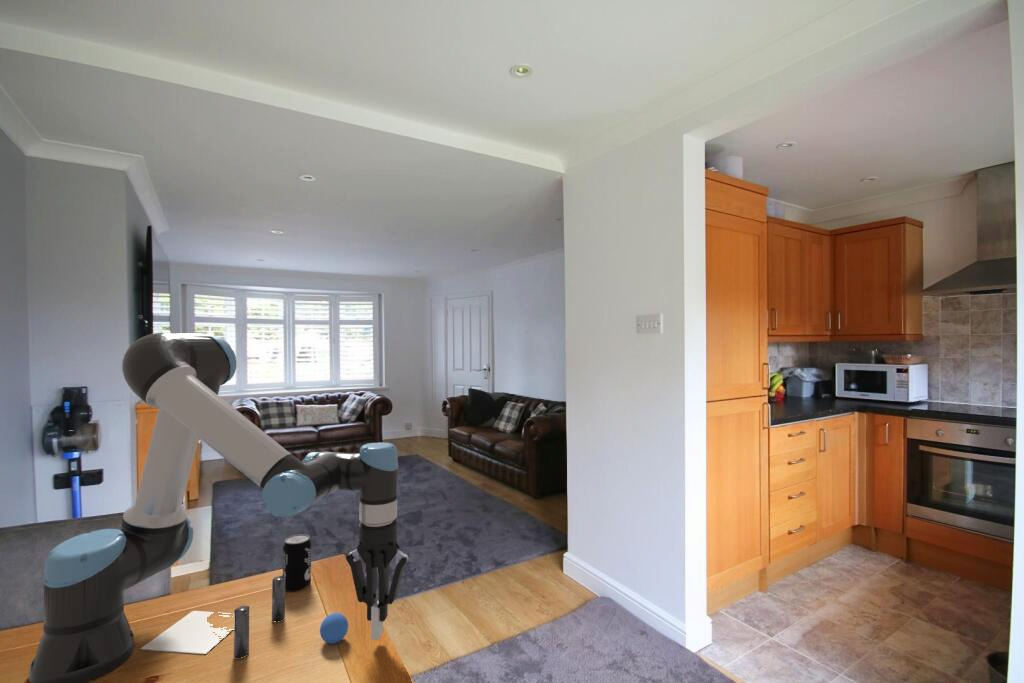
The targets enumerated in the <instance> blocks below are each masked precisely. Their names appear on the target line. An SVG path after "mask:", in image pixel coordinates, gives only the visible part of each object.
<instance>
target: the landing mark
mask: <svg viewBox="0 0 1024 683" xmlns="http://www.w3.org/2000/svg"><path fill="white" fill-rule="evenodd" d="M214 612H215V611H204V610H203V611H201V610H192V611H191V612H189V613H187V615H185V616H184V617H183V618H181V619H180V620H178V621H176V622H175V623H174V624H172V625H171V626H170V627H168V628H167V629H166V630H164V631H162V633H160V634H158V635H157V636H156V637H155V638H153V639H151V641H149V642H148V643H146V644H145V645H143V646H142V647H140V651H141V650H142V651H153V652H155V651H157V652H165V653H166V652H167V653H169V652H170V653H179V654H195V655H204V654H206V655H208V654H209V653H210V652H211V651H212V650H213V649H214V648H215V647H216V646H218V643H219V642H220V641H219V640H222V639H223V638H224V639H226V638H227V637H228V636H227V635H226V634H229V632H227V631H230V630H234V629H229V630H226V629H224V628H227V627H223V628H220V627H219V628H213V627H210V626H213V624H210V623H209V622H207V617H209V616H210V615H211V614H213V613H214ZM217 612H218V611H217ZM218 613H222V614H231V613H232V612H218ZM233 614H234V613H233ZM219 616H223V617H230V616H229V615H219ZM232 617H233V616H232ZM221 629H223V630H221ZM213 632H215V633H213ZM215 634H217V635H215ZM229 635H230V634H229ZM218 636H221V637H218ZM226 636H227V637H226ZM219 638H222V639H219ZM224 639H223V640H224ZM223 640H222V641H223ZM220 643H221V642H220ZM220 643H219V644H220ZM214 646H215V647H214ZM213 647H214V648H213ZM212 648H213V649H212ZM211 649H212V650H211ZM210 650H211V651H210Z"/></svg>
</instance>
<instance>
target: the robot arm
mask: <svg viewBox="0 0 1024 683" xmlns="http://www.w3.org/2000/svg"><path fill="white" fill-rule="evenodd" d="M237 363H238V362H237V356H236V353H235V351H234V350H233V348H232V346H231V344H230V343H228V342H227V341H226V339H224V338H222V337H220V336H218V335H213V334H207V333H203V332H200V333H199V332H198V333H197V332H196V333H177V332H175V333H173V332H172V333H170V332H155V333H150V334H147V335H144V336H142V337H140V338H138V339H137V340H135V341H134V342H133V343H132V344H131V345H130V346H129V347H128V348H127V350H126V352H125V353H124V355H123V359H122V364H121V367H122V368H121V369H122V375H123V377H124V380H125V383H126V384H127V385H128V387H129V388H130V390H131V391H132V392H133V393H134V394H135V395H136V396H137V397H138V398H139V399H140V400H142V402H144V403H145V404H147V405H148V406H150V407H151V408H154V409H155V408H156V409H158V410H157V414H156V418H155V423H154V427H153V430H152V434H151V438H150V443H149V446H148V450H147V453H146V457H145V458H146V459H145V463H144V466H143V470H142V474H141V478H140V482H139V486H138V490H137V493H136V499H135V502H134V505H132V506H130V507H128V508H127V509H126V510H125V511H124V512H123V515H122V518H121V523H120V526H119V529H118V528H117V529H116V528H103V529H96V530H92V531H90V532H87V533H85V532H84V533H81V534H78V535H76V536H73V537H71V538H69V539H66V540H65V541H63V542H61V543H59V544H58V545H56V546H55V547H54V548H53V549H52V550H50V552H49V553H48V554H47V556H46V557H45V561H44V570H43V573H42V583H43V613H42V614H43V623H42V624H43V625H42V627H43V628H42V635H41V638H40V641H39V643H38V646H37V650H36V652H35V653H36V654H35V657H34V658H33V659H32V661H31V662H30V664H29V665H30V666H29V669H28V670H29V671H28V682H30V683H88V682H91V681H94V680H96V679H98V678H100V677H103V676H105V675H107V674H109V673H110V672H112V671H114V670H115V669H117V668H119V667H120V666H121V665H123V664H124V663H125V662H126V661H127V660H129V658H130V657H131V656H132V655H133V653H134V651H135V643H136V642H135V641H136V640H135V634H134V632H133V630H132V629H131V625H130V623H129V620H128V618H127V616H126V613H125V591H127V590H128V589H130V588H132V587H133V586H135V585H137V584H139V583H141V582H143V581H145V580H147V579H149V578H151V577H153V576H154V575H156V574H157V573H158V574H159V573H160V572H162V571H165V570H166V569H168V568H170V567H172V566H173V565H174V564H175V563H176V562H178V561H180V560H181V559H182V558H183V557H184V556H185V555H186V553H188V551H189V549H190V548H191V546H192V543H193V540H194V527H193V526H191V523H192V522H191V520H190V518H189V517H188V511H187V510H186V509H185V508H184V507H183V502H184V497H185V494H186V489H187V486H188V482H189V479H190V475H191V471H192V466H193V462H194V459H195V456H196V450H197V446H198V443H199V440H202V441H203V443H204V444H206V445H208V447H210V448H211V449H212V450H214V451H215V453H218V454H219V455H220V456H221V457H222V458H223V459H225V460H226V461H227V462H228V463H230V464H231V465H232V466H234V468H236V470H238V471H240V473H242V474H243V475H244V476H246V477H247V478H248V479H249V480H251V481H252V482H253V483H254V484H256V485H257V486H258V487H259V488H260V489H262V502H263V503H264V506H265V508H266V509H267V511H268V512H269V513H270V514H272V515H274V516H276V517H278V518H279V517H280V518H288V517H291V516H293V515H296V514H299V513H302V512H303V511H305V510H308V509H309V507H311V506H312V505H313V504H315V503H316V502H319V500H322V499H324V498H325V497H327V496H329V495H330V494H332V493H333V492H335V491H347V492H348V491H350V492H351V491H352V492H356V491H358V493H359V506H358V507H359V510H358V511H359V512H358V520H359V521H360V522H359V524H358V541H359V542H358V545H357V546H356V549H353V550H351V551H350V552H349V553H348V554H347V555H346V556H345V561H346V562H347V563H348V565H349V566H350V570H351V575H352V579H353V584H354V588H355V589H354V590H355V593H356V597H357V598H356V599H357V601H358V603H364V604H366V619H367V621H369V622H370V623H371V624H370V639H371V640H373V641H376V640H377V641H378V640H379V639H380V638H381V636H382V634H383V633H384V622H385V621H386V620H387V617H388V611H389V610H388V607H389V606H388V605H392V604H393V603H394V601H395V600H396V598H397V597H398V593H399V589H400V585H401V581H402V577H403V574H404V568H405V565H406V563H407V561H408V560H409V558H410V556H411V555H410V553H408V552H406V553H404V552H403V551H401V550H400V545H399V543H398V540H397V539H398V520H397V519H396V518H397V517H398V478H399V477H398V476H399V472H398V471H399V461H398V448H397V447H396V445H395V444H393V443H389V442H371V443H370V442H369V443H366V444H363V445H362V446H361V447H360V448H359V452H357V453H355V452H337V451H336V452H332V451H326V450H325V451H324V450H323V451H312V452H309V453H307V455H305V457H304V459H302V461H301V460H300V459H299V458H297V457H296V456H295V455H294V454H292V453H291V452H289V451H288V450H286V449H285V447H283V446H282V445H281V444H279V442H277V441H276V440H274V439H273V438H272V437H270V436H269V435H268V434H267V433H266V432H265V431H264V430H262V429H261V428H259V427H258V426H257V425H256V424H255V423H253V422H252V421H251V420H249V419H248V418H247V417H246V416H244V414H242V413H241V412H239V411H238V410H237V409H236V408H235V407H234V406H232V405H231V404H230V403H228V402H227V401H226V400H224V399H223V398H222V397H221V396H220V395H219V392H220V388H221V386H224V385H225V384H226V383H228V382H229V381H230V380H232V379H233V377H234V375H235V373H236V370H237V366H238V365H237ZM394 558H395V564H396V566H395V568H394V572H393V577H392V580H391V583H390V584H389V580H390V579H389V575H390V564H391V562H392V561H393V559H394ZM361 560H363V562H364V564H365V573H366V576H365V573H364V568H363V564H362V561H361ZM377 573H378V574H377ZM377 575H378V577H377ZM365 577H366V578H365ZM377 578H378V579H377ZM377 580H378V583H377ZM377 584H378V594H377ZM389 586H390V588H389ZM376 599H377V600H376ZM382 626H383V627H382Z"/></svg>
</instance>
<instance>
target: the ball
mask: <svg viewBox="0 0 1024 683" xmlns="http://www.w3.org/2000/svg"><path fill="white" fill-rule="evenodd" d="M348 630H349V622H348V619H347V617H346V616H345V615H344V614H343V613H340V612H333V613H330V614H328V615H327V616H325V618H324V619H323V620H322V622H321V623H320V627H319V635H320V638H321V639H322V640H323V642H325V643H327V644H337V643H339V642H341V641H342V640H343V639H344V638H345V637H346V635H347V633H348Z"/></svg>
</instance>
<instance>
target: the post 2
mask: <svg viewBox="0 0 1024 683" xmlns="http://www.w3.org/2000/svg"><path fill="white" fill-rule="evenodd" d="M271 581H272V583H271V584H272V585H271V622H272V621H276V622H277V623H279V622H278V621H281V620H283V619H284V618H285V617H286V589H285V577H284V576H283V575H279V576H276V577H273V578H272V580H271ZM284 620H285V619H284ZM284 620H283V621H284ZM281 622H282V621H281Z"/></svg>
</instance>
